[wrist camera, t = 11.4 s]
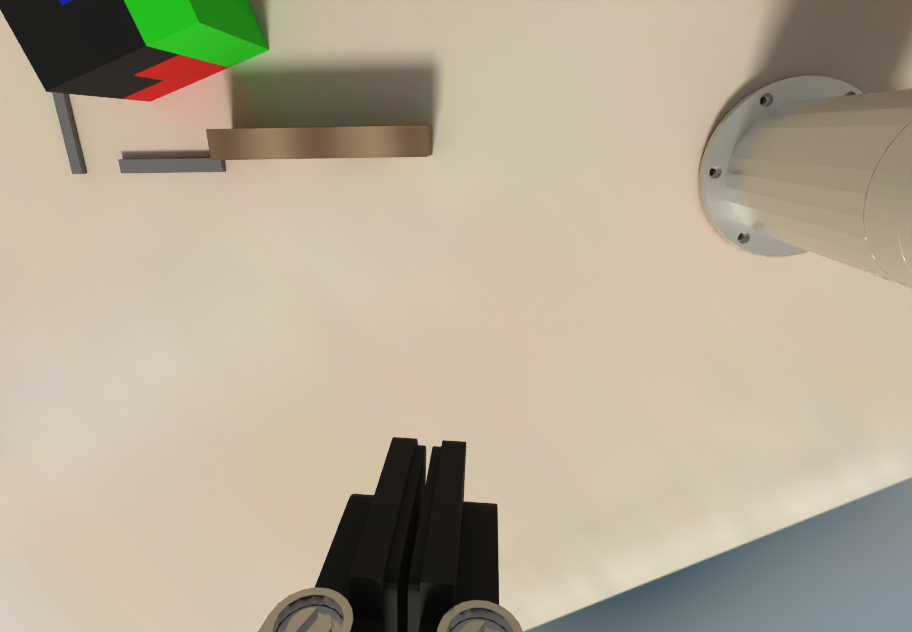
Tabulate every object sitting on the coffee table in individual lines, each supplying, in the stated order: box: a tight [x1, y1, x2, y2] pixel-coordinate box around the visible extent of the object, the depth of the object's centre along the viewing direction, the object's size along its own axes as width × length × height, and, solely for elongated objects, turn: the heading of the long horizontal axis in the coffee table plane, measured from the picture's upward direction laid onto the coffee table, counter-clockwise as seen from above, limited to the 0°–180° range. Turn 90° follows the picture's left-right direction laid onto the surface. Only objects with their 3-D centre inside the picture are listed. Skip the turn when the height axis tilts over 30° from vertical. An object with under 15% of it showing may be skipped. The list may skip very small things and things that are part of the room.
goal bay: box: [52, 92, 226, 174], centre depth 37 cm, size 12×23×1 cm, turn 1°
